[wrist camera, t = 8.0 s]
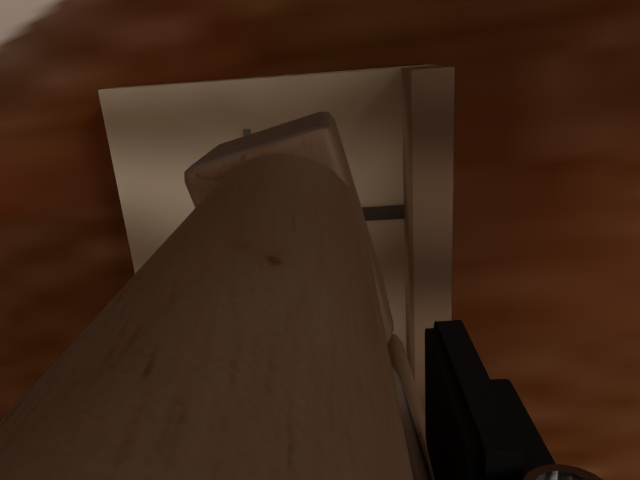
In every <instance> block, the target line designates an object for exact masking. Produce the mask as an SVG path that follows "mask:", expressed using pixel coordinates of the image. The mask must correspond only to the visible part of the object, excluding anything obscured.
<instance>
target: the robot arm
mask: <svg viewBox="0 0 640 480" xmlns="http://www.w3.org/2000/svg"><path fill="white" fill-rule="evenodd" d="M425 435H426V444H427V450H428V454H429V458H430V463H431V467H432V471H433V475H434V479H435V480H603V479H601V478H600V477H598V476H597V475H595V474H593V473H591V472H588V471H586V470H584V469H581V468H579V467H574V466H569V465H564V464H555V462H554V460H553V458H552V456H551V455H550V453H549V451H548V449H547V447H546V445H545V444H544V442H543V440H542V438H541V436H540V434H539V433H538V431H537V429H536V427H535V425H534V423H533V422H532V420H531V418H530V416H529V414H528V413H527V411H526V409H525V407H524V405H523V403H522V402H521V400H520V398H519V396H518V394H517V392H516V391H515V389H514V387H513V385H512V384H511V382H510V381H509V380H507V379H493V380H490V378H489V376H488V374H487V372H486V370H485V368H484V366H483V364H482V362H481V360H480V358H479V355H478V353H477V351H476V349H475V347H474V345H473V343H472V341H471V339H470V337H469V335H468V333H467V331H466V329H465V327H464V325H463V323H462V321H461V320H452V321H435V322H434V328H426V329H425Z"/></svg>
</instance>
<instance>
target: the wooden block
mask: <svg viewBox="0 0 640 480" xmlns="http://www.w3.org/2000/svg"><path fill="white" fill-rule="evenodd" d="M184 182H185V184H186V187H187V189H188V192H189V194H190V197H191V199H192V201H193V204H194V206H195V209H194V210H193V211H192V212H191V213H190V214H189V216H188V217H187V218H186V219H185V220H184V221H183V222H182V223H181V224H180V225H179V226H178V228H177V229H176V230H175V231H174V232H173V233H172V234H171V235H170V236H169V237H168V238H167V240H166V241H165V242H164V243H163V244H162V245H161V246H160V247H159V248H158V249H157V250H156V252H155V253H154V254H153V255H152V256H151V257H150V258H149V259H148V260H147V261H146V262H145V264H144V265H143V266H142V267H141V268H140V269H139V270H138V271H137V272H136V273H135V274H134V276H133V277H132V278H131V279H130V280H129V281H128V282H127V283H126V284H125V285H124V287H123V288H122V289H121V290H120V291H119V292H118V293H117V294H116V295H115V296H114V297H113V299H112V300H111V301H110V302H109V303H108V304H107V305H106V306H105V307H104V308H103V309H102V311H101V312H100V313H99V314H98V315H97V316H96V317H95V318H94V319H93V320H92V321H91V323H90V324H89V325H88V326H87V327H86V328H85V329H84V330H83V331H82V332H81V333H80V335H79V336H78V337H77V338H76V339H75V340H74V341H73V342H72V343H71V344H70V345H69V347H68V348H67V349H66V350H65V351H64V352H63V353H62V354H61V355H60V356H59V357H58V359H57V360H56V361H55V362H54V363H53V364H52V365H51V366H50V367H49V368H48V370H47V371H46V372H45V373H44V374H43V375H42V376H41V377H40V378H39V379H38V380H37V382H36V383H35V384H34V385H33V386H32V387H31V388H30V389H29V390H28V391H27V392H26V394H25V395H24V396H23V397H22V398H21V399H20V400H19V401H18V402H17V403H16V404H15V406H14V407H13V408H12V409H11V410H10V411H9V412H8V413H7V414H6V415H5V416H4V418H3V419H2V420H1V421H0V480H435V479H434V475H433V471H432V467H431V463H430V458H429V454H428V450H427V444H426V435H425V414H424V411H423V408H422V404H421V401H420V398H419V395H418V391H417V388H416V385H415V381H414V378H413V375H412V371H411V368H410V365H409V362H408V358H407V355H406V352H405V348H404V345H403V342H402V341H401V340H400V339H399V337H398V336H397V335H396V334H393V331H394V327H393V319H392V315H391V311H390V306H389V302H388V298H387V294H386V289H385V285H384V281H383V276H382V273H381V270H380V266H379V263H378V260H377V256H376V253H375V250H374V247H373V243H372V240H371V237H370V233H369V230H368V227H367V223H366V220H365V217H364V214H363V210H362V207H361V204H360V200H359V197H358V194H357V191H356V187H355V184H354V181H353V177H352V174H351V171H350V168H349V164H348V161H347V158H346V154H345V151H344V148H343V144H342V141H341V138H340V135H339V131H338V128H337V125H336V121H335V119H334V117H333V116H332V115H331V114H330V112H322V111H320V112H317V113H314V114H311V115H308V116H305V117H302V118H299V119H296V120H293V121H290V122H286V123H283V124H280V125H277V126H274V127H271V128H268V129H265V130H262V131H259V132H256V133H253V134H250V135H247V136H243V137H240V138H237V139H234V140H231V141H228V142H225V143H222V144H219V145H217V146H216V147H215V148H214V149H212V150H211V151H210V152H208V153H207V154H206V155H204V156H203V157H202V158H200V159H199V160H198V161H196V162H195V163H194V164H192V165H191V166H190V167H189V168H188V169H187V170H186V171H185V172H184Z"/></svg>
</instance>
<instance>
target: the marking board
mask: <svg viewBox="0 0 640 480" xmlns="http://www.w3.org/2000/svg"><path fill="white" fill-rule="evenodd" d="M98 94H99V99H100V104H101V108H102V113H103V118H104V123H105V128H106V133H107V138H108V143H109V148H110V153H111V158H112V163H113V168H114V173H115V178H116V183H117V188H118V192H119V197H120V202H121V207H122V212H123V217H124V222H125V227H126V232H127V237H128V242H129V247H130V252H131V257H132V262H133V267H134V272H135V273H136V272H137V271H138V270H139V269H140V268H141V267H142V266H143V265H144V264H145V262H146V261H147V260H148V259H149V258H150V257H151V256H152V255H153V254H154V253H155V252H156V250H157V249H158V248H159V247H160V246H161V245H162V244H163V243H164V242H165V241H166V240H167V238H168V237H169V236H170V235H171V234H172V233H173V232H174V231H175V230H176V229H177V228H178V226H179V225H180V224H181V223H182V222H183V221H184V220H185V219H186V218H187V217H188V216H189V214H190V213H191V212H192V211H193V210H194V209H195V206H194V204H193V201H192V199H191V197H190V194H189V192H188V189H187V187H186V184H185V182H184V172H185V171H186V170H187V169H188V168H189V167H190V166H191V165H192V164H194V163H195V162H196V161H198V160H199V159H200V158H202V157H203V156H204V155H206V154H207V153H208V152H210V151H211V150H212V149H214V148H215V147H216V146H217V145H219V144H222V143H225V142H228V141H231V140H234V139H237V138H240V137H243V136H247V135H250V134H253V133H256V132H259V131H262V130H265V129H268V128H271V127H274V126H277V125H280V124H283V123H286V122H290V121H293V120H296V119H299V118H302V117H305V116H308V115H311V114H314V113H317V112H320V111H322V112H330V114H331V115H332V116H333V117H334V119H335V121H336V125H337V128H338V131H339V135H340V138H341V141H342V144H343V148H344V151H345V154H346V158H347V161H348V164H349V168H350V171H351V174H352V177H353V181H354V184H355V187H356V191H357V194H358V197H359V200H360V204H361V207H362V210H363V214H364V217H365V220H366V223H367V227H368V230H369V233H370V237H371V240H372V243H373V247H374V250H375V253H376V256H377V260H378V263H379V266H380V270H381V273H382V276H383V281H384V285H385V289H386V294H387V298H388V302H389V306H390V311H391V315H392V319H393V327H394V331H393V334H396V335H397V336H398V337H399V339H400V340H401V341H402V342H403V345H404V348H405V352H406V355H407V358H408V362H409V365H410V368H411V371H412V375H413V378H414V381H415V385H416V388H417V391H418V395H419V398H420V401H421V404H422V408H423V411H424V414H425V329H426V328H434V322H435V321H451V314H452V242H453V169H454V97H455V67H452V66H442V65H431V64H430V65H416V66H403V67H389V68H375V69H361V70H348V71H334V72H320V73H307V74H293V75H279V76H265V77H252V78H238V79H224V80H211V81H197V82H183V83H169V84H156V85H142V86H128V87H116V88H109V89H102V90H98Z"/></svg>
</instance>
